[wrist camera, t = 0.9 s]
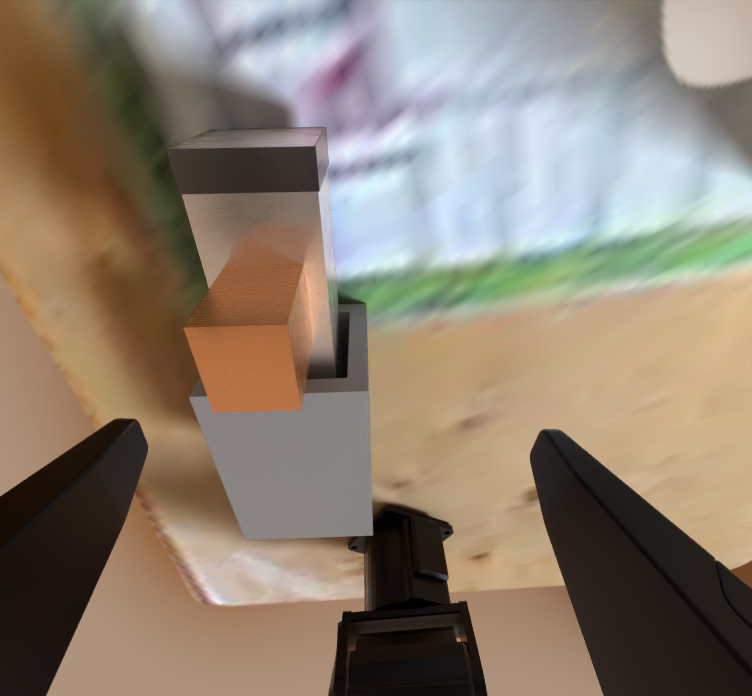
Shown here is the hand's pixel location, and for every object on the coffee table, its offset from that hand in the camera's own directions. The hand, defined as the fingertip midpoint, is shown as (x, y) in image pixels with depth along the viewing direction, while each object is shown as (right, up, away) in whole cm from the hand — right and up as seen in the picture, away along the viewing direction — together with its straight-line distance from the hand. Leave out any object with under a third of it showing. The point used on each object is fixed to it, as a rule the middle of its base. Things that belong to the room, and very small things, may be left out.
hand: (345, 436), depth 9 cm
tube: (-3, +3, +11) cm, 11 cm away
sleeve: (-3, 0, +14) cm, 14 cm away
